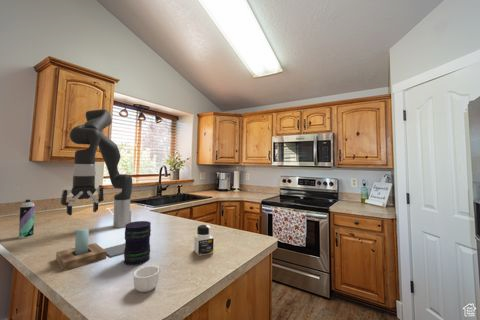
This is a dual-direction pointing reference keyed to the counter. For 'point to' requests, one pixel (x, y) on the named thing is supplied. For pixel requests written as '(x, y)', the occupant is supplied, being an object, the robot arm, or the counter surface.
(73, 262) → the pocket block
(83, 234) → the peg
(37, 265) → the counter surface
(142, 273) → the teacup
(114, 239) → the counter surface
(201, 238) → the medicine bottle
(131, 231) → the storage jar
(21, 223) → the spray can
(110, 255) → the mat
